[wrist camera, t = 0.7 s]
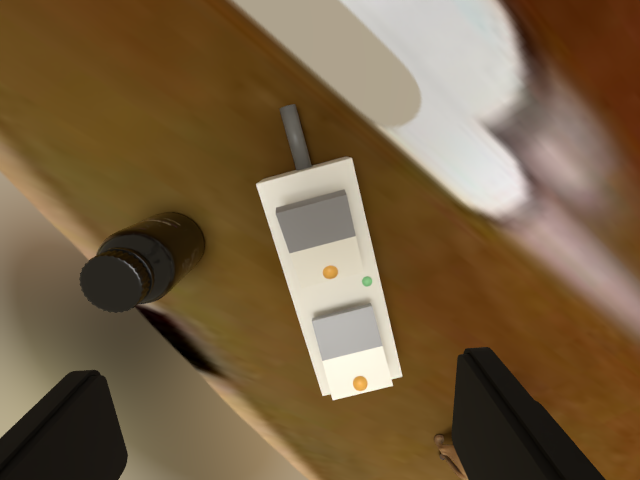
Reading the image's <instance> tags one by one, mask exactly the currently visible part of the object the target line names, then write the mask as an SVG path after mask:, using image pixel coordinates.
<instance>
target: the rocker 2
mask: <svg viewBox="0 0 640 480" xmlns="http://www.w3.org/2000/svg"><path fill="white" fill-rule="evenodd" d="M312 324H313V328H314V332H315V336H316V339H317V343H318V347H319V351H320V354H321V358H322V362H323V366H324V369H325V373H326V377H327V381H328V384H329V388H330V392H331V396H332V399H333V400H336V399H340V398H344V397H349V396H353V395H357V394H361V393H365V392H369V391H373V390H378V389H382V388H386V387H390V386H393V384H392V380H391V376H390V372H389V368H388V365H387V361H386V357H385V353H384V349H383V345H382V342H381V338H380V334H379V330H378V326H377V322H376V319H375V315H374V311H373V307H372V305H371V303H369V304H365V305H361V306H357V307H353V308H349V309H345V310H342V311H338V312H334V313H330V314H326V315H322V316H318V317H314V318H312Z"/></svg>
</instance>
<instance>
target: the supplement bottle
mask: <svg viewBox="0 0 640 480" xmlns="http://www.w3.org/2000/svg"><path fill="white" fill-rule="evenodd" d="M203 251H204V240H203V236H202V233H201V231H200V230H199V228H198V227H197V225H196V224H195V223H194V222H193V221H191V220H190V219H189V218H187V217H185V216H183V215H180V214H177V213H162V214H158V215H155V216H153V217H150V218H148V219H146V220H143V221H141V222H139V223H136V224H134V225H132V226H130V227H127V228H125V229H123V230H120V231H118V232H116V233H114V234H112V235H111V236H109V237H108V238H106V239H105V240H104V241H103V243H102V244H101V245H100V247H99V249H98V251H97V254H96V256H95V257H94V258H92V259H90V260H89V261H88V262H87V263H86V264H85V266H84V267H83V268H82V272H81V273H80V286H81V288H82V291H83V292H84V296H85V297H87V299H88V301H90V302H92V304H93V305H95V306H97V307H98V308H100V309H102V310H104V311H108V312H115V313H117V312H123V311H128V310H130V309H131V308H134V307H135V306H136V305H137V304H146V303H151V302H154V301H156V300H159V299H160V298H162V297H163V296H165V295H166V294H167V293H168V292H169V291H170V290H171V289H172V288H173V287H174V286H175V285H176V284H177V283H178V282H179V281H180V280H181V279H182V278H183V277H184V276H185V275H186V274H187V273H188V272H189V271H190V270H191V269H192V268H193V267H194V266H195V265H196V264H197V263H198V262H199V260H200V259H201V257H202V255H203Z"/></svg>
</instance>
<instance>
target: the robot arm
mask: <svg viewBox="0 0 640 480" xmlns="http://www.w3.org/2000/svg"><path fill="white" fill-rule="evenodd" d="M452 441H453V445H454V448H455V451H456V453H457V455H458V458H459V460H460V462H461V464H462V466H463V469H464V471H465V473H466V475H467V477H468V480H605V478H604V477H603V476H602V475H601V474H600V473H599V471H598V470H597V469H596V468H595V467H594V466H593V464H592V463H591V462H590V461H589V460H588V459H587V457H586V456H585V455H584V454H583V453H582V452H581V450H580V449H579V448H578V447H577V446H576V445H575V443H574V442H573V441H572V440H571V439H570V437H569V436H568V435H567V434H566V433H565V432H564V430H563V429H562V428H561V427H560V426H559V425H558V423H557V422H556V421H555V420H554V419H553V418H552V416H551V415H550V414H549V413H548V412H547V411H546V409H545V408H544V407H543V406H542V405H541V404H540V403H539V402H537V401H535V400H534V399H533V398H532V397H531V396H530V395H529V393H528V392H527V391H526V390H525V389H524V387H523V386H522V385H521V384H520V383H519V382H518V380H517V379H516V378H515V377H514V376H513V374H512V373H511V372H510V371H509V370H508V369H507V367H506V366H505V365H504V364H503V363H502V361H501V360H500V359H499V358H498V357H497V355H496V354H495V353H494V352H493V351H492V350H491V349H490V348H488V347H482V348H467V349H465V351H464V354H461V355H459V356H458V359H457V372H456V385H455V398H454V411H453V424H452ZM127 457H128V454H127V450H126V446H125V443H124V439H123V436H122V433H121V429H120V426H119V422H118V418H117V415H116V411H115V408H114V404H113V401H112V398H111V395H110V391H109V387H108V384H107V380H106V378H105V377H104V376H101V375H100V373H99V372H98V371H96V370H86V371H73V372H70V373H69V374H67V375H66V376H65V377H64V378H63V379H62V380H61V381H60V382H59V383H58V384H57V385H56V386H55V387H53V388H52V389H51V390H50V391H49V392H48V393H47V394H46V395H45V396H44V397H43V398H42V399H41V400H40V401H39V402H38V403H37V404H36V405H35V406H34V407H33V408H32V409H31V410H29V411H28V413H26V414H25V415H24V416H23V417H22V418H21V419H20V420H19V421H18V422H17V423H16V424H15V425H14V426H13V427H12V428H11V429H10V430H9V431H8V432H7V433H5V434H4V435H3V437H1V438H0V480H118V479H119V478H120V476H121V474H122V472H123V471H124V469H125V466H126V463H127Z"/></svg>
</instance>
